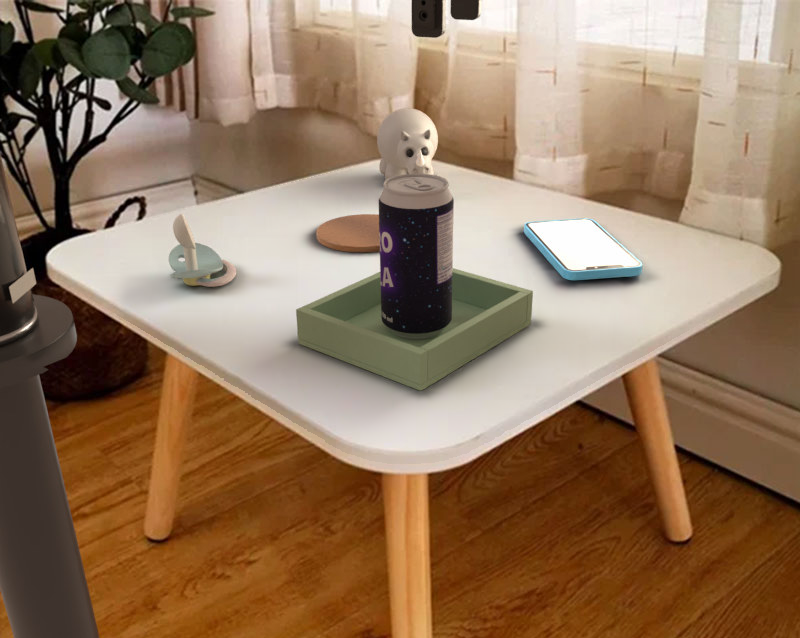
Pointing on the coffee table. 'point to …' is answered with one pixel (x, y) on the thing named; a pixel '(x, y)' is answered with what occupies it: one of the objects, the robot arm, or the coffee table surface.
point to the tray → (414, 358)
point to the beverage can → (416, 254)
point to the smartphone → (582, 249)
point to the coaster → (351, 233)
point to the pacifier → (196, 259)
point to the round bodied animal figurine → (406, 143)
